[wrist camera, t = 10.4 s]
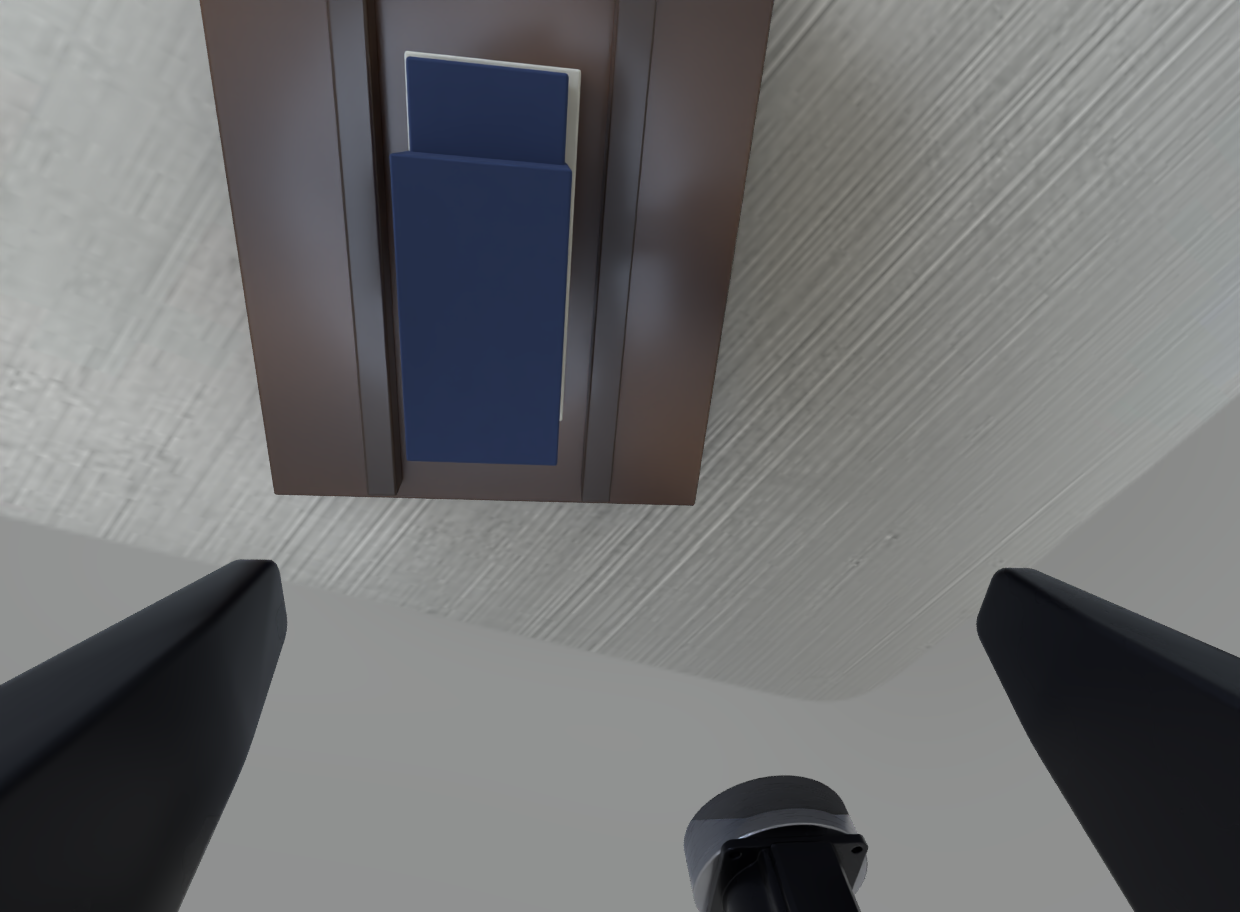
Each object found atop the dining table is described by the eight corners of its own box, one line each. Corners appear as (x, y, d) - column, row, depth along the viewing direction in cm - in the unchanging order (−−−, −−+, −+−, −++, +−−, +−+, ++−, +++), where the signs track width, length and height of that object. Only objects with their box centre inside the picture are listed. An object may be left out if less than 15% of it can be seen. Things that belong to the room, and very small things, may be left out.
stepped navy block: (561, 407, 18) (565, 475, 15) (426, 401, 18) (396, 470, 14) (579, 73, 15) (590, 54, 11) (412, 55, 14) (368, 30, 11)
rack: (685, 483, 21) (700, 520, 19) (291, 471, 20) (262, 510, 18) (764, -50, 15) (798, -78, 13) (209, -128, 14) (151, -173, 12)
